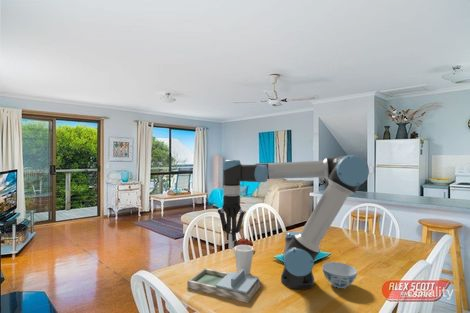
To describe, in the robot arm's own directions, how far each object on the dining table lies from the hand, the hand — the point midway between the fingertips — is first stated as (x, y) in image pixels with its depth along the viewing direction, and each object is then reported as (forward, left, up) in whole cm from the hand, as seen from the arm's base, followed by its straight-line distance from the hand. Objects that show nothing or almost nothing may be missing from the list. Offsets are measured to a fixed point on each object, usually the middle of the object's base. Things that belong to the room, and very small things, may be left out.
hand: (231, 247), depth 121 cm
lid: (-4, 0, -15) cm, 15 cm away
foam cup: (0, -16, -18) cm, 24 cm away
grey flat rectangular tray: (+3, 0, -18) cm, 18 cm away
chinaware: (-44, -24, -18) cm, 53 cm away
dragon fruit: (+12, -47, -18) cm, 52 cm away
